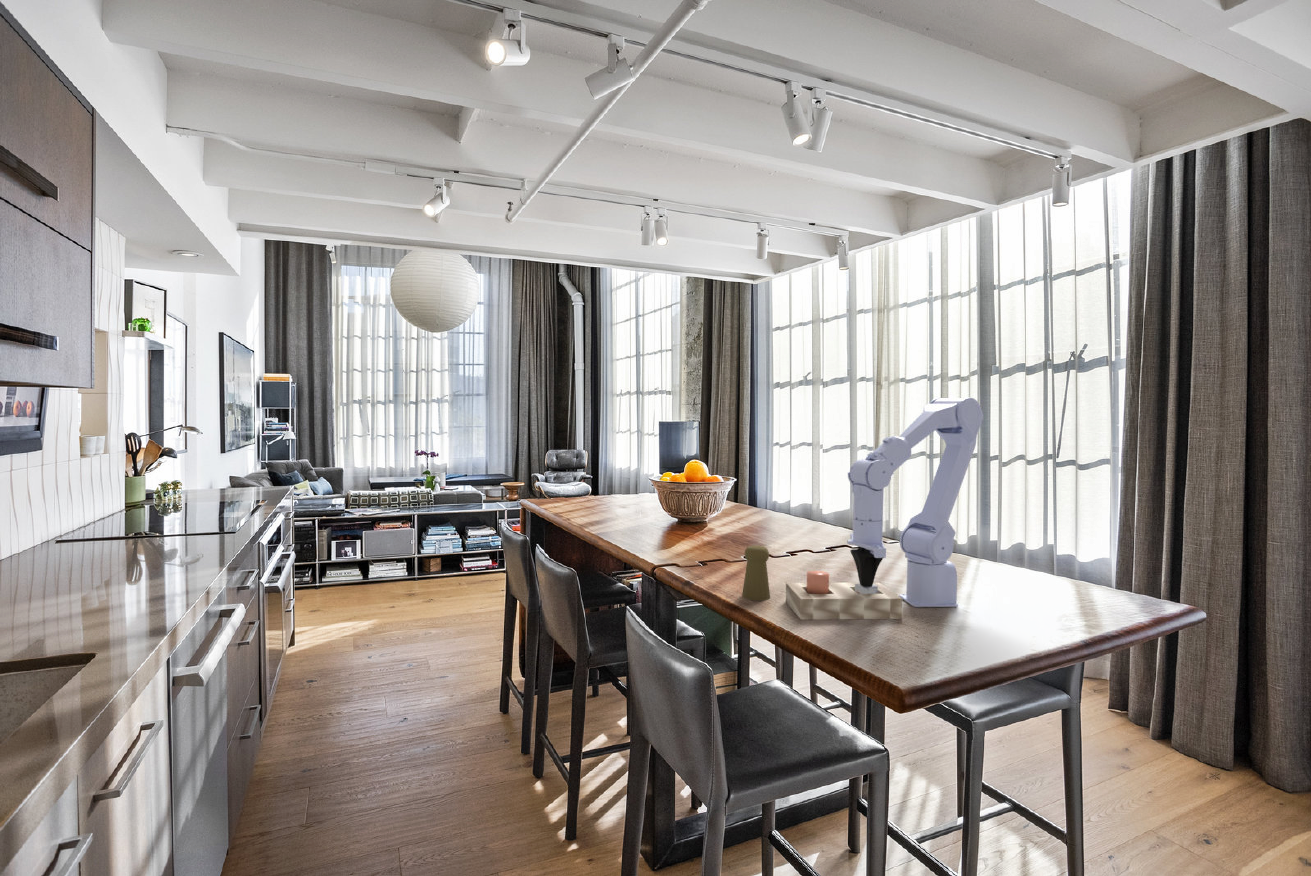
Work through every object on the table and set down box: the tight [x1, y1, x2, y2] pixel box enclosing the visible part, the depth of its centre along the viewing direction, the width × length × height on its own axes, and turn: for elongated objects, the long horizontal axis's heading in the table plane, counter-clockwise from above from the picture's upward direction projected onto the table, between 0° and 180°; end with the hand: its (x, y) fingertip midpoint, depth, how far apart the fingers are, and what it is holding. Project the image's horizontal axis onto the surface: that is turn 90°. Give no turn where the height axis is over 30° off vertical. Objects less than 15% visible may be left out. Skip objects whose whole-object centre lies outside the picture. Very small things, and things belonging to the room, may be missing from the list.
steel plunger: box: [855, 582, 878, 594], centre depth 137 cm, size 4×4×4 cm
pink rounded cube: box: [806, 570, 830, 594], centre depth 136 cm, size 4×4×4 cm
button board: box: [785, 582, 903, 620], centre depth 136 cm, size 20×12×4 cm, turn 93°
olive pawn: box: [741, 544, 771, 601], centre depth 145 cm, size 6×6×11 cm
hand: (866, 585), depth 137 cm, fingers closed, pressing on steel plunger
